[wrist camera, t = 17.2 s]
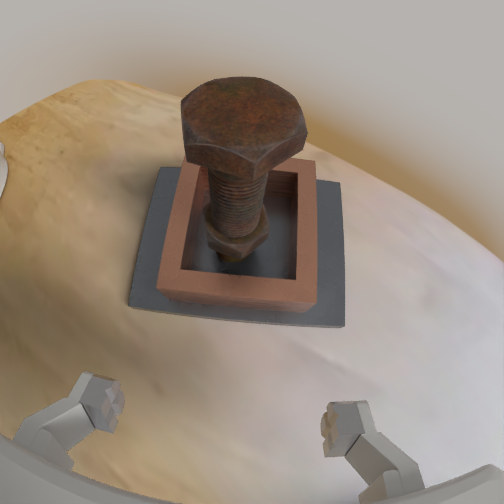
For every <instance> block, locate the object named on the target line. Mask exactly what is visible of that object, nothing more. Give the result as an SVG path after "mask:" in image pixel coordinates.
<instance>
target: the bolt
mask: <svg viewBox="0 0 504 504" xmlns="http://www.w3.org/2000/svg"><path fill="white" fill-rule="evenodd" d="M181 119H182V131H183V140H184V148H185V154H186V161H187V162H188V163H192V164H196V165H199V166H203V167H206V168H208V178H209V179H208V180H209V191H210V202H209V203H208V204H207V205H206V206H205V207H204V208H203V217H204V224H205V232H206V238H207V244H208V247H209V248H211V249H213V250H215V251H216V253H217V255H220V257H219V258H220V259H221V260H223V261H224V262H233V263H237V262H241V261H244V260H245V259H247V258H248V257H250V256H251V254H252V252H253V251H254V250H255V249H256V248H258V247H259V246H260V245H261V244H262V243H263V242H264V241H265V240H266V239H267V238H268V236H269V233H270V229H269V222H268V217H267V213H266V209H265V206H264V204H263V198H264V194H265V187H266V183H267V177H268V173H269V171H270V170H272V169H273V168H275V167H276V166H278V165H279V164H281V163H283V162H284V161H286V160H287V159H289V158H290V157H292V156H294V155H295V154H297V153H298V152H300V151H302V150H303V147H304V144H305V140H306V137H307V134H308V132H307V128H306V123H305V119H304V116H303V113H302V110H301V107H300V106H299V104H298V102H297V100H296V98H295V97H294V96H293V95H292V94H290V93H289V92H288V91H286V90H285V89H283V88H281V87H280V86H278V85H276V84H274V83H272V82H270V81H268V80H264V79H262V78H256V77H229V78H221V79H214V80H211V81H208V82H206V83H204V84H202V85H200V86H199V87H197V88H196V89H194V90H193V91H191V92H190V93H189V94H188V95H187V96H186V97H185V98H183V99H182V100H181Z"/></svg>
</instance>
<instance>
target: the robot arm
mask: <svg viewBox="0 0 504 504" xmlns="http://www.w3.org/2000/svg"><path fill="white" fill-rule="evenodd" d="M7 173H8V165H7V161H6V159H5V157H4V145H3V144H2V143H1V142H0V197H1V194H2V192H3V189H4V186H5V183H6V179H7ZM119 388H120V383H119V380H116V379H112V378H109V377H105V376H102V375H98V374H95V373H91V372H88V371H84V372H83V373H82V374H81V375H80V377H79V379H78V380H77V382H76V384H75V386H74V387H73V389H72V391H71V393H70V394H69V396H68V398H65V397H64V398H62V399H61V400H59V401H57V402H55V403H53V404H51V405H50V406H48V407H46V408H44V409H42V410H40V411H38V412H36V413H35V414H33V415H31V416H29V417H27V418H25V419H24V421H23V422H22V424H21V426H20V428H19V429H18V431H17V433H16V435H15V437H14V438H13V440H10V439H9V438H7V437H6V436H4V435H2V434H1V433H0V504H181V503H175V502H170V501H166V500H161V499H156V498H152V497H148V496H144V495H140V494H137V493H133V492H129V491H126V490H123V489H119V488H116V487H113V486H110V485H107V484H104V483H101V482H99V481H96V480H93V479H90V478H88V477H85V476H83V475H80V474H78V473H75V472H73V471H71V470H72V467H73V464H74V461H73V459H72V458H71V457H70V456H69V455H68V453H67V451H68V450H69V449H71V448H72V447H73V446H75V445H76V444H77V443H79V442H80V441H81V440H83V439H84V438H85V437H86V436H88V435H89V434H90V433H92V432H93V431H94V430H95V429H99V430H102V431H105V432H109V433H114V431H115V428H116V426H117V423H118V419H117V417H116V416H118V415H119V414H121V413H122V410H123V408H124V401H125V400H124V394H123V392H122V391H121V390H120V389H119ZM321 435H322V436H323V437H324V438H325V441H324V442H323V449H324V456H325V457H341V456H345V458H346V459H347V461H348V462H349V463H350V464H351V465H352V467H353V468H354V469H355V470H356V471H357V472H358V474H359V475H360V476H361V477H362V478H363V479H364V480H365V482H366V483H367V484H368V485H369V486H368V487H367V488H366V489H365V490H364V491H363V492H362V493H361V494H360V495H359V501H360V504H504V471H503V470H501V469H500V468H498V467H496V466H494V465H492V464H487V465H484V466H482V467H480V468H478V469H475V470H473V471H471V472H469V473H466V474H464V475H461V476H459V477H457V478H454V479H451V480H449V481H446V482H443V483H441V484H438V485H435V486H432V487H429V488H426V489H425V487H424V484H423V480H422V477H421V473H420V470H419V467H418V464H417V463H416V462H415V461H414V460H413V459H411V458H410V457H409V456H408V455H407V454H405V453H404V452H403V451H402V450H401V449H399V448H398V447H397V446H396V445H395V444H394V443H392V442H391V441H390V440H389V439H388V438H387V437H385V436H384V435H383V434H382V433H381V432H377V430H376V427H375V424H374V420H373V417H372V414H371V410H370V407H369V404H368V402H367V401H366V400H363V401H343V402H330V403H329V404H328V405H327V412H326V413H324V414H323V417H322V419H321Z"/></svg>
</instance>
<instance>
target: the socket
mask: <svg viewBox="0 0 504 504" xmlns="http://www.w3.org/2000/svg"><path fill="white" fill-rule="evenodd" d="M208 179H209V178H208V168H206V167H203V166H199V165H196V164H192V163H188V162H187V161H186V154H185V157H184V161H183V165H182V168H175V167H161V168H160V171H159V174H158V178H157V181H156V185H155V188H154V192H153V195H152V199H151V203H150V206H149V210H148V214H147V218H146V222H145V226H144V230H143V235H142V239H141V243H140V248H139V252H138V257H137V262H136V267H135V272H134V277H133V282H132V287H131V293H130V299H129V305H128V306H129V307H131V308H133V309H139V310H145V311H152V312H159V313H166V314H174V315H181V316H189V317H198V318H206V319H215V320H225V321H235V322H246V323H258V324H271V325H285V326H302V327H323V328H342V327H344V326H345V260H344V234H343V215H342V201H341V188H340V183H339V182H332V181H325V180H317V179H316V167H315V161H311V160H304V159H296V158H289V159H287V160H286V161H284V162H283V163H281V164H279V165H278V166H276V167H275V168H273V169H272V170H270V171H269V173H268V177H267V183H266V187H265V194H264V198H263V204H264V206H265V209H266V213H267V217H268V222H269V229H270V233H269V236H268V238H267V239H266V240H265V241H264V242H263V243H262V244H261V245H260V246H259V247H258V248H256V249H255V250H254V251H253V252H252V254H251V256H250V257H248V258H247V259H245V260H244V261H241V262H237V263H233V262H224V261H223V260H221V259H220V258H219V257H220V255H217V253H216V251H215V250H213V249H211V248H209V247H208V244H207V238H206V232H205V224H204V217H203V208H204V207H205V206H206V205H207V204H208V203H209V202H210V191H209V180H208Z"/></svg>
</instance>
